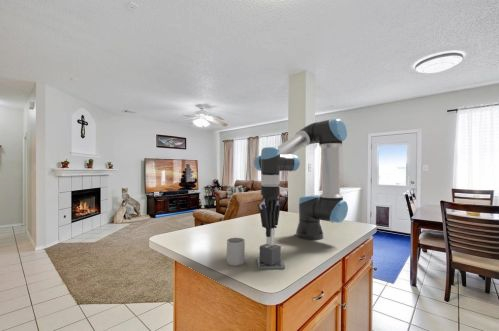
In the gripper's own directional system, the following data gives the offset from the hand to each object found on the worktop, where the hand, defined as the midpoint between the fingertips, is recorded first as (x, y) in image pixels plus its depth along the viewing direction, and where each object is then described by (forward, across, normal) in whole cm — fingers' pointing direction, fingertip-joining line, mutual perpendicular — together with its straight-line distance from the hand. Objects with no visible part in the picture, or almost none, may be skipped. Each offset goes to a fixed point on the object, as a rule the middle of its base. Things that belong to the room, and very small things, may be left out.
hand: (270, 244), depth 91 cm
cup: (+8, +8, -12) cm, 17 cm away
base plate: (+8, 0, 0) cm, 8 cm away
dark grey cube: (+7, 0, 0) cm, 7 cm away
